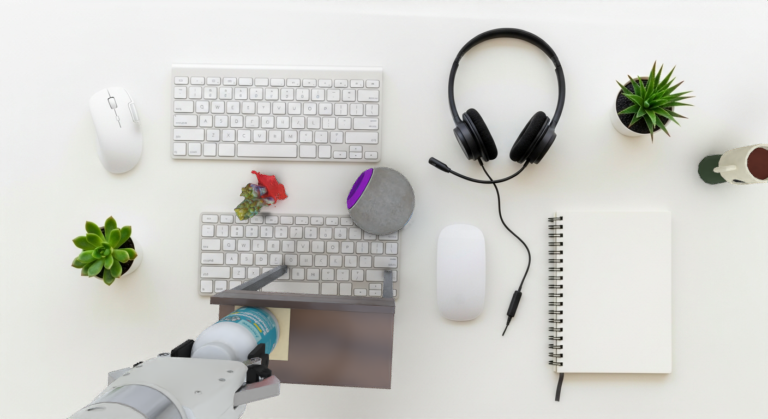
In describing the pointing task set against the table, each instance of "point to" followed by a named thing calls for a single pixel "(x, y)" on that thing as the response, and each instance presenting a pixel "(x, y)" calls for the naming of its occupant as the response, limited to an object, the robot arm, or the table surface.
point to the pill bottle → (238, 335)
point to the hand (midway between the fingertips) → (226, 354)
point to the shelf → (324, 336)
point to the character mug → (736, 166)
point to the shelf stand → (282, 269)
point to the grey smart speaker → (381, 201)
